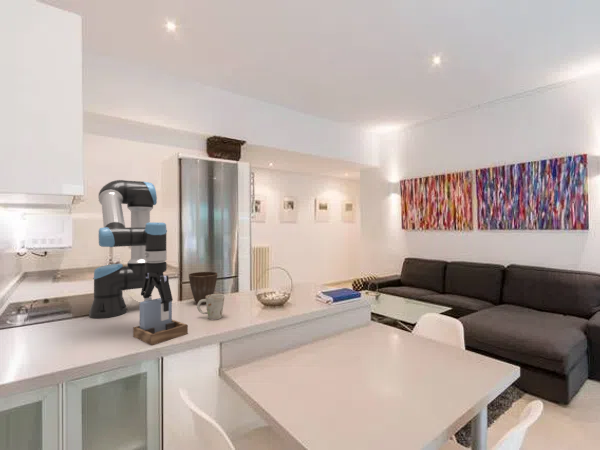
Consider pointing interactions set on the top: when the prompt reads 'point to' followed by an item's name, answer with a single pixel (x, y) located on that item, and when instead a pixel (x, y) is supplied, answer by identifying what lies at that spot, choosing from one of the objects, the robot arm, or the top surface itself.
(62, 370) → the top surface
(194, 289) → the plant pot
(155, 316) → the door
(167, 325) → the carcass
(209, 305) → the mug
